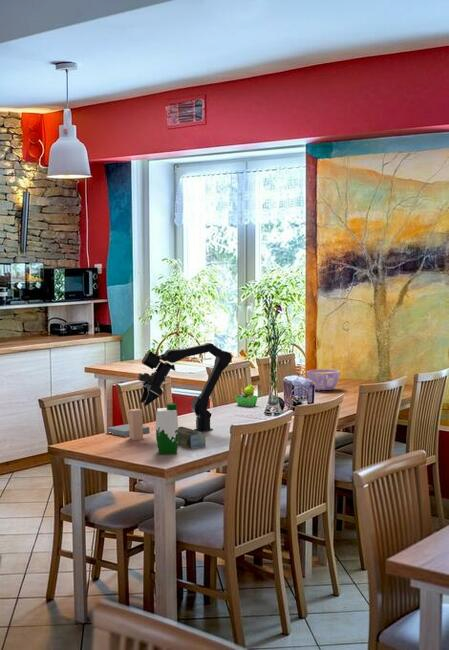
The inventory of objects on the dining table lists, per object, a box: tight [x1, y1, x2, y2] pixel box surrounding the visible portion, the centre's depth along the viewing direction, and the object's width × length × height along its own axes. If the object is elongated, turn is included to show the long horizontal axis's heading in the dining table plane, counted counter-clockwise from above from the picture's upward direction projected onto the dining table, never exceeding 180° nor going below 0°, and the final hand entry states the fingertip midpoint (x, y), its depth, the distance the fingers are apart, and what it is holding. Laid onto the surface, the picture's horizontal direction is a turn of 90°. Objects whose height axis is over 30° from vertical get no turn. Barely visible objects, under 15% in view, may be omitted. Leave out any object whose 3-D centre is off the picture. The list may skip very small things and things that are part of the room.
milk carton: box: [155, 402, 179, 455], centre depth 363 cm, size 9×9×20 cm
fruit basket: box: [234, 384, 259, 407], centre depth 480 cm, size 11×9×11 cm
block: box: [128, 408, 144, 441], centre depth 394 cm, size 4×4×13 cm
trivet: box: [106, 423, 151, 438], centre depth 409 cm, size 14×14×2 cm
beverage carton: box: [178, 426, 207, 450], centre depth 380 cm, size 8×19×7 cm, turn 34°
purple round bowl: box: [306, 368, 341, 391], centre depth 531 cm, size 20×20×12 cm
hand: (143, 403), depth 402 cm, fingers open, 9 cm apart
